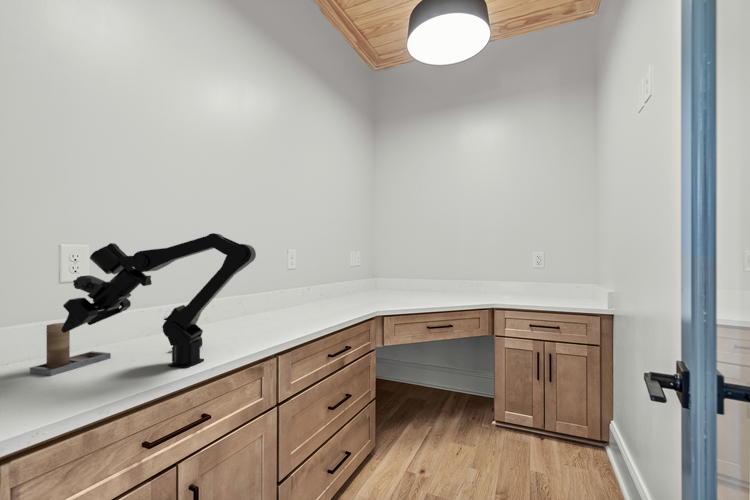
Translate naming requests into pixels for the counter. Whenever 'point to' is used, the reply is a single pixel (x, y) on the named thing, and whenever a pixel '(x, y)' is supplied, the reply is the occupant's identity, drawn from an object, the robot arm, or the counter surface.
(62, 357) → the post
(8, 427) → the counter surface
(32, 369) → the grey divided tray
